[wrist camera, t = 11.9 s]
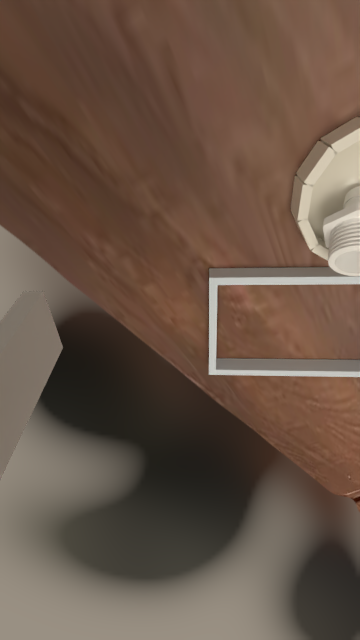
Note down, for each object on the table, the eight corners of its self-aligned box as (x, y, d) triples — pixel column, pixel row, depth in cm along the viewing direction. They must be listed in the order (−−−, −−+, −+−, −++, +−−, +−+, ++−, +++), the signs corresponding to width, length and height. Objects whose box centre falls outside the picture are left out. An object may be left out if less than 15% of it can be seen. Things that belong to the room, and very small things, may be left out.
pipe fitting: (312, 196, 37) (304, 259, 34) (379, 159, 31) (375, 231, 29) (347, 226, 40) (342, 286, 37) (415, 196, 34) (415, 266, 31)
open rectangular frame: (209, 268, 43) (209, 277, 41) (409, 266, 41) (420, 276, 39) (209, 363, 53) (208, 374, 51) (373, 365, 51) (380, 377, 49)
